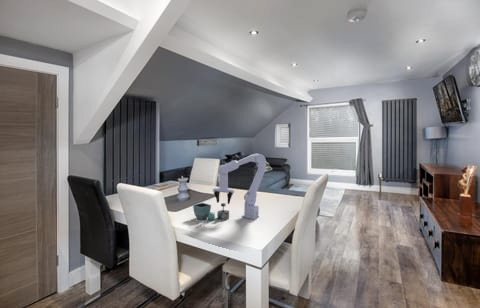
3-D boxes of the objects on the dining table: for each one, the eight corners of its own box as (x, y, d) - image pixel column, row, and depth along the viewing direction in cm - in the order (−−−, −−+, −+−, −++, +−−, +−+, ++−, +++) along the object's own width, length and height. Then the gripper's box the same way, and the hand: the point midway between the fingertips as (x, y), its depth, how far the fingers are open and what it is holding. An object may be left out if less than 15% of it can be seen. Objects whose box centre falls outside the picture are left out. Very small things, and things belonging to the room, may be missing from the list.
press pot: (232, 217, 163) (232, 210, 163) (223, 220, 156) (223, 214, 155) (224, 214, 168) (224, 208, 167) (215, 218, 160) (215, 211, 160)
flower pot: (202, 215, 166) (202, 202, 166) (211, 217, 161) (211, 204, 160) (192, 218, 160) (192, 205, 159) (201, 221, 154) (201, 207, 153)
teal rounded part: (216, 219, 158) (216, 213, 157) (211, 221, 154) (211, 214, 154) (211, 218, 160) (211, 211, 160) (206, 219, 157) (206, 213, 156)
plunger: (226, 212, 161) (226, 203, 160) (223, 213, 159) (223, 204, 158) (223, 211, 163) (223, 203, 162) (220, 212, 160) (220, 203, 160)
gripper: (235, 182, 161) (235, 202, 162) (215, 181, 165) (215, 200, 166) (232, 184, 154) (232, 205, 155) (211, 183, 158) (211, 203, 159)
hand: (223, 202), depth 160 cm, fingers open, 7 cm apart
